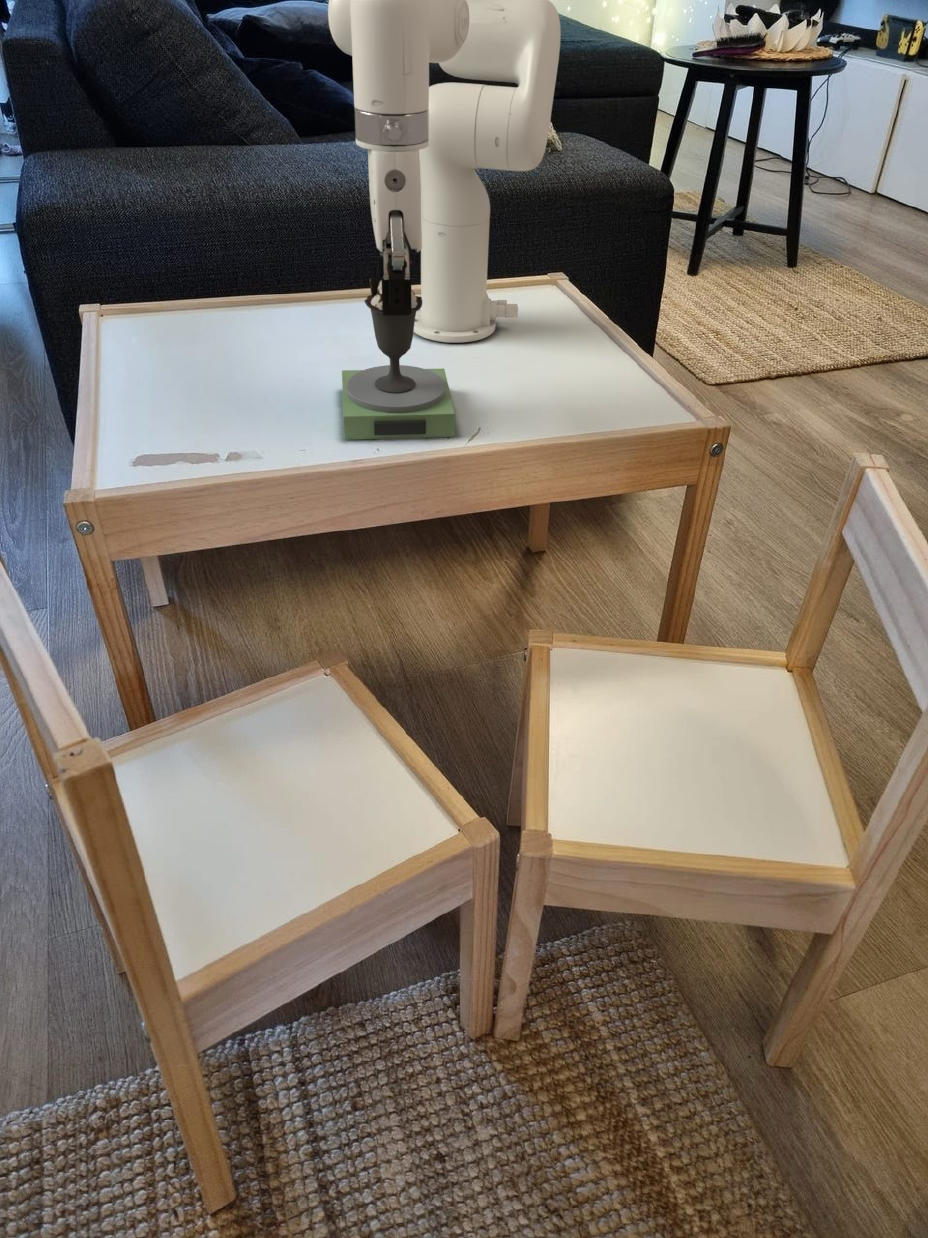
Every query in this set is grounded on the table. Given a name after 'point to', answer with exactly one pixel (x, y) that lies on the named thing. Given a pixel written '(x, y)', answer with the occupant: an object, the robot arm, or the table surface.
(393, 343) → the sundae
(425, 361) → the table surface
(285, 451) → the table surface
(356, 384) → the scale
